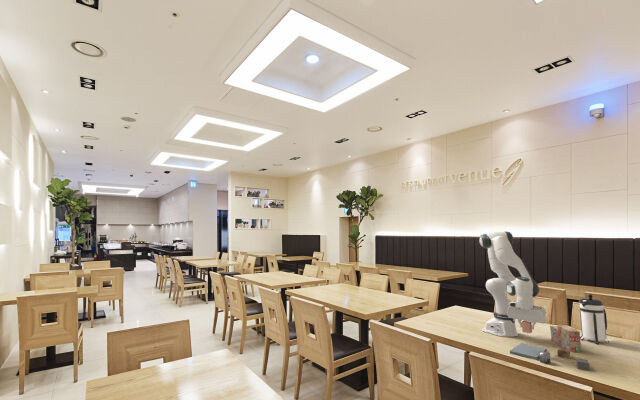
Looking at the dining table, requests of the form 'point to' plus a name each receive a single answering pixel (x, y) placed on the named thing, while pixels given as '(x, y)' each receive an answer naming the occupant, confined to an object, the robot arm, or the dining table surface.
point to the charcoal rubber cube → (583, 364)
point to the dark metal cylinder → (544, 357)
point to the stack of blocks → (566, 337)
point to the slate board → (527, 351)
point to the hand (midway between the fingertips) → (527, 328)
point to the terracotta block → (526, 326)
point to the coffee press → (593, 319)
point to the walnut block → (563, 353)
